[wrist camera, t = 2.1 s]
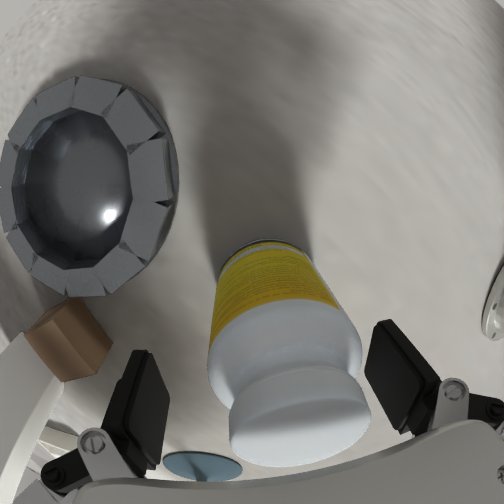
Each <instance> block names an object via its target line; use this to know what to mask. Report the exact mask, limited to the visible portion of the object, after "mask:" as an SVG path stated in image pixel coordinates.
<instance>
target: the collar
mask: <svg viewBox="0 0 504 504" xmlns="http://www.w3.org/2000/svg"><path fill="white" fill-rule="evenodd" d="M8 137H9V139H10V140H5V144H4V148H3V152H2V157H1V161H0V186H1V187H2V188H0V215H1V220H2V225H3V230H4V233H5V232H9V231H10V232H9V234H8V235H7V237H6V238H7V240H8V242H9V244H10V245H11V247H12V248H13V250H14V252H15V253H16V255H17V256H18V258H19V260H20V261H21V263H22V264H23V266H24V267H25V269H26V270H27V271H28V272H29V271H31V270H32V277H34V278H36V279H37V280H39V281H40V282H42V283H44V284H45V285H47V286H48V287H50V288H52V289H53V290H55V291H57V292H59V293H60V294H62V295H66V294H67V293H68V296H69V297H90V296H106V295H107V294H108V293H109V292H110V294H112V293H113V292H114V291H115V290H116V289H118V288H119V287H120V286H121V285H123V284H124V283H125V282H127V281H129V280H130V279H132V278H133V277H134V276H136V275H137V274H139V273H140V272H141V271H142V270H143V269H144V268H145V267H146V266H147V265H148V264H149V263H150V262H151V260H152V259H153V258H154V257H155V255H156V254H157V253H158V251H159V250H160V248H161V246H162V245H163V243H164V242H165V240H166V237H167V235H168V233H169V231H170V229H171V226H172V222H173V219H174V216H175V212H176V207H177V202H178V193H179V168H178V161H177V155H176V150H175V147H174V144H173V140H172V137H171V135H170V132H169V130H168V128H167V126H166V124H165V122H164V120H163V119H162V117H161V116H160V114H159V112H158V111H157V110H156V109H155V107H154V106H153V105H152V104H151V103H150V102H149V101H148V100H147V99H146V98H145V97H143V96H142V95H141V94H140V93H138V92H137V91H135V90H133V89H132V88H130V87H128V86H126V85H124V84H121V83H118V82H115V81H111V80H105V79H95V78H91V77H86V76H81V75H80V77H76V76H74V77H72V78H69V79H67V80H65V81H63V82H61V83H59V84H56V85H54V86H52V87H50V88H48V89H46V90H45V91H43V92H41V93H39V94H37V99H34V98H33V99H32V100H31V101H30V103H29V104H28V105H27V107H26V108H25V109H24V111H23V112H22V114H21V115H20V117H19V118H18V119H17V121H16V122H15V124H14V125H13V127H12V129H11V130H10V132H9V133H8Z"/></svg>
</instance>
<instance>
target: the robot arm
mask: <svg viewBox="0 0 504 504" xmlns="http://www.w3.org/2000/svg"><path fill="white" fill-rule="evenodd" d="M482 330H483V334H484V335H485V336H486V337H487V338H488V339H489V340H490V341H496V340H499V339H501V338H503V337H504V265H503V267H502V269H501V271H500V272H499V274H498V276H497V278H496V280H495V283H494V285H493V287H492V289H491V292H490V294H489V297H488V300H487V303H486V306H485V310H484V314H483V321H482ZM364 373H365V376H366V378H367V380H368V382H369V384H370V385H371V387H372V389H373V391H374V393H375V395H376V396H377V398H378V400H379V402H380V404H381V406H382V407H383V409H384V411H385V413H386V415H387V417H388V419H389V421H390V422H391V424H392V426H393V428H394V429H395V430H398V431H399V433H400V435H401V434H403V433H406V432H408V431H411V433H412V438H411V439H410V440H408V441H405V442H403V443H400V444H398V445H395V446H393V447H390V448H387V449H385V450H382V451H379V452H377V453H374V454H371V455H368V456H365V457H362V458H359V459H355V460H352V461H349V462H345V463H342V464H338V465H334V466H330V467H326V468H322V469H318V470H313V471H308V472H303V473H298V474H292V475H286V476H279V477H272V478H264V479H254V480H242V481H220V482H196V481H170V480H158V479H147V478H146V477H145V474H146V469H148V470H156V464H157V465H159V464H160V460H161V453H162V446H163V440H164V433H165V427H166V420H167V414H168V409H169V403H170V397H169V393H168V391H167V389H166V386H165V384H164V382H163V379H162V377H161V375H160V372H159V370H158V367H157V365H156V362H155V360H154V357H153V355H152V353H149V352H148V351H147V350H133V351H132V354H131V356H130V358H129V361H128V363H127V366H126V369H125V371H124V374H123V376H122V379H120V380H118V382H117V384H116V387H115V389H114V392H113V395H112V397H111V400H110V403H109V405H108V408H107V411H106V414H105V417H104V419H103V422H102V425H101V428H89V429H86V430H85V431H83V432H82V433H81V434H80V435H79V438H78V440H77V447H78V448H76V449H74V450H72V451H70V452H68V453H66V454H64V455H62V456H60V457H58V458H56V459H54V460H52V461H50V462H48V463H47V464H45V465H44V466H43V468H42V470H41V479H40V480H38V479H36V480H35V481H34V482H33V483H32V484H31V485H29V486H28V487H27V488H26V489H25V490H24V491H23V492H22V493H21V494H20V495H19V496H18V497H17V498H16V499H15V500H14V501H13V504H504V402H503V401H501V400H500V399H497V398H492V397H487V396H482V395H477V394H472V393H469V388H468V386H467V385H466V383H465V382H464V381H462V380H460V379H457V378H448V379H445V380H444V381H443V382H442V381H441V380H440V377H439V376H438V375H437V374H436V372H435V371H434V370H433V368H432V367H431V366H430V365H429V364H428V362H427V361H426V360H425V359H424V357H423V356H422V355H421V354H420V352H419V351H418V350H417V349H416V348H415V346H414V345H413V344H412V343H411V342H410V341H409V339H408V338H407V337H406V336H405V335H404V333H403V332H402V331H401V330H400V329H399V328H398V326H397V325H396V324H395V323H394V322H393V321H392V320H391V319H387V320H383V321H379V322H378V323H377V325H376V326H374V329H373V334H372V338H371V343H370V348H369V352H368V357H367V361H366V365H365V369H364Z"/></svg>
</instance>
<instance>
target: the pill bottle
mask: <svg viewBox="0 0 504 504" xmlns="http://www.w3.org/2000/svg"><path fill="white" fill-rule="evenodd" d="M361 362H362V344H361V340H360V337H359V334H358V332H357V330H356V328H355V326H354V325H353V323H352V322H351V320H350V319H349V317H348V316H347V314H346V313H345V311H344V310H343V308H342V307H341V305H340V304H339V302H338V301H337V299H336V298H335V296H334V294H333V293H332V291H331V290H330V288H329V287H328V285H327V284H326V282H325V281H324V280H323V278H322V277H321V275H320V273H319V272H318V270H317V269H316V267H315V265H314V264H313V262H312V261H311V260H310V258H309V257H308V256H307V255H306V253H305V252H303V251H302V250H301V249H300V248H298V247H297V246H295V245H293V244H291V243H289V242H286V241H283V240H278V239H262V240H257V241H253V242H250V243H248V244H246V245H244V246H242V247H240V248H239V249H237V250H236V251H235V252H234V253H233V254H231V255H230V257H229V258H228V259H227V260H226V262H225V263H224V265H223V267H222V269H221V271H220V274H219V277H218V281H217V288H216V296H215V303H214V310H213V318H212V326H211V335H210V344H209V352H208V364H207V371H208V378H209V381H210V384H211V387H212V389H213V391H214V393H215V394H216V396H217V397H218V398H219V400H220V401H221V402H222V403H223V404H224V405H225V406H226V407H228V408H229V409H230V413H229V440H230V445H231V448H232V450H233V451H234V453H235V454H236V455H237V456H239V457H240V458H242V459H243V460H245V461H247V462H250V463H253V464H257V465H262V466H267V467H291V466H299V465H305V464H310V463H314V462H317V461H320V460H323V459H326V458H328V457H331V456H333V455H335V454H337V453H339V452H341V451H343V450H345V449H346V448H348V447H350V446H351V445H352V444H354V443H355V442H356V441H357V440H358V439H359V438H360V437H361V436H362V435H363V434H364V433H365V431H366V430H367V428H368V426H369V424H370V421H371V412H370V409H369V406H368V404H367V401H366V399H365V396H364V393H363V391H362V388H361V387H360V385H359V384H358V382H357V381H356V380H355V379H356V377H357V375H358V373H359V370H360V367H361Z"/></svg>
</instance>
